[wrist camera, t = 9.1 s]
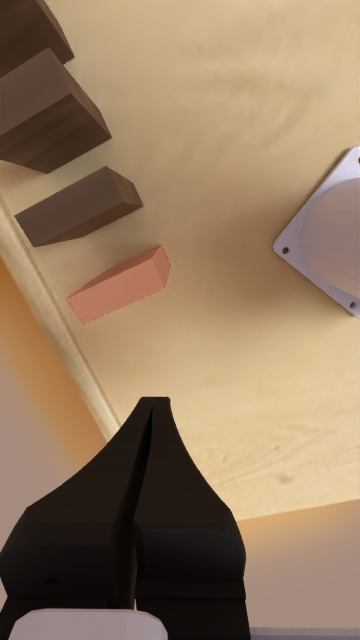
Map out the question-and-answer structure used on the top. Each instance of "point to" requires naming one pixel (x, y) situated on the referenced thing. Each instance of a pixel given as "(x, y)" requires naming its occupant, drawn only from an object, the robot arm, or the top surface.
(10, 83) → the domino
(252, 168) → the top surface
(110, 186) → the domino
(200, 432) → the top surface
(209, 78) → the top surface
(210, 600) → the robot arm
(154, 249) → the terracotta domino
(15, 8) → the domino
